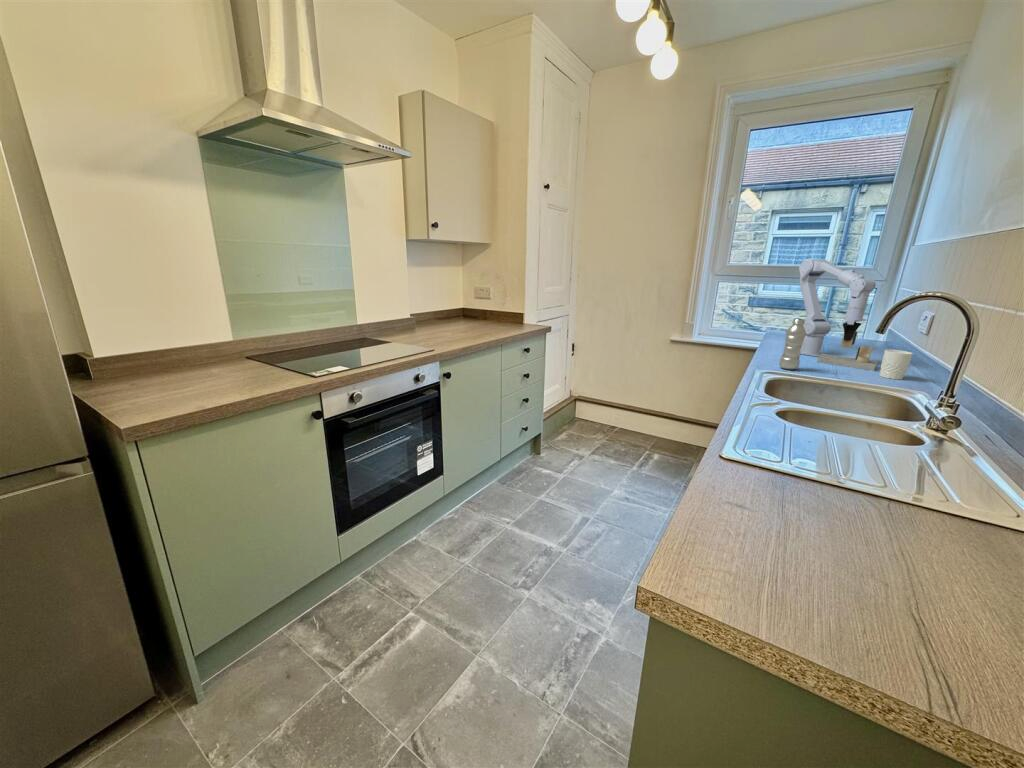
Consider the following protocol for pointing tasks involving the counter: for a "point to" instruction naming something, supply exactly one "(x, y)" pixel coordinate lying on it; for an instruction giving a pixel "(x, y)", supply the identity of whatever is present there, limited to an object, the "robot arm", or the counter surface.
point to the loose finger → (849, 343)
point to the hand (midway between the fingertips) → (847, 340)
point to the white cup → (895, 363)
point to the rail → (846, 362)
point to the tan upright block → (863, 354)
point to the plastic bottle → (793, 345)
